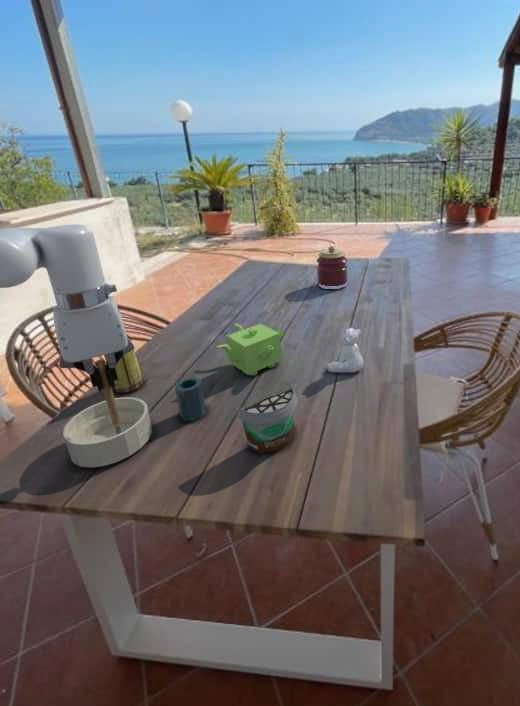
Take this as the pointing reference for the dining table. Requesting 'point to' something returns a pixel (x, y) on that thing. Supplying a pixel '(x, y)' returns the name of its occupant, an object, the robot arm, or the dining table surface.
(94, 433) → the bowl
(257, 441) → the food container
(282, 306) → the dining table surface
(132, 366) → the sauce bottle
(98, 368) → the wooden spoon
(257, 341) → the kettle
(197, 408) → the crock
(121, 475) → the dining table surface
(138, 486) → the dining table surface
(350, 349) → the sitting furry creature
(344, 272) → the kitchen canister
